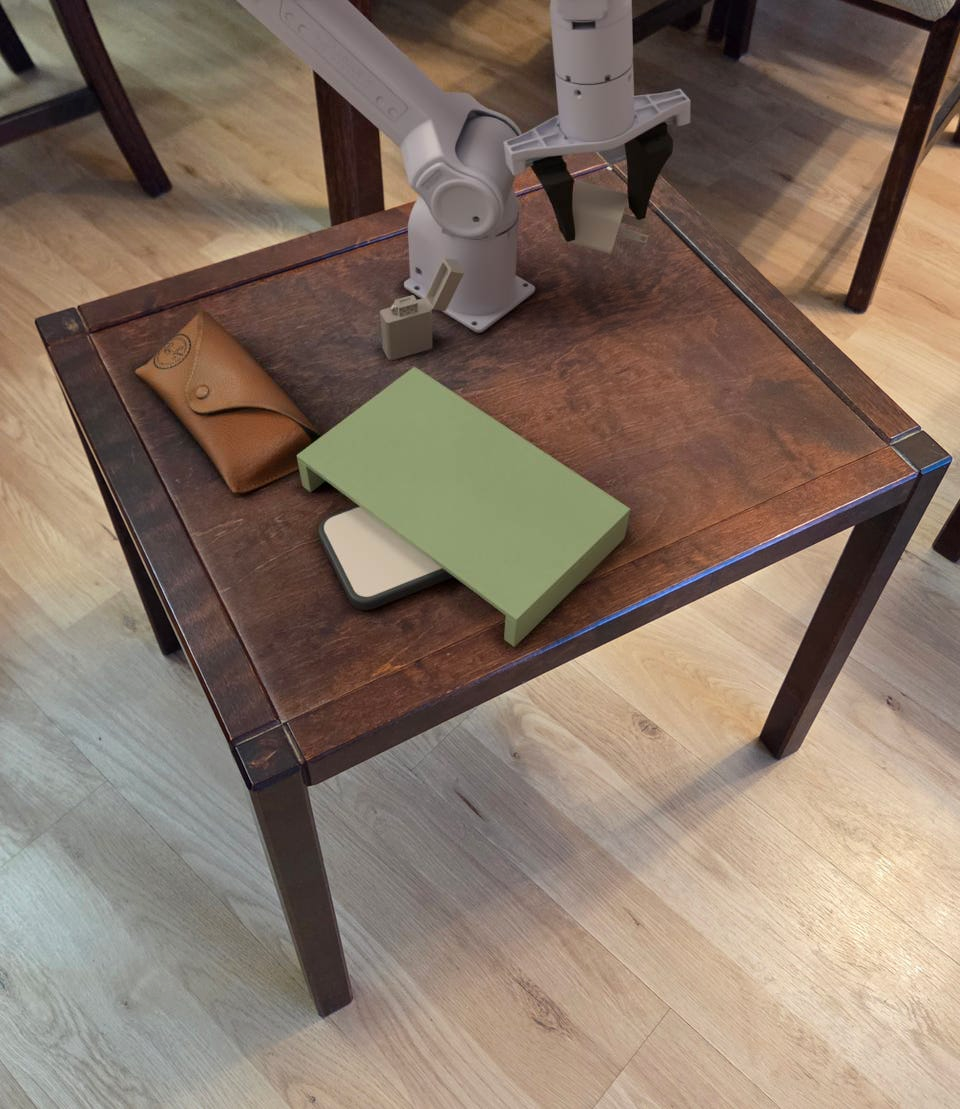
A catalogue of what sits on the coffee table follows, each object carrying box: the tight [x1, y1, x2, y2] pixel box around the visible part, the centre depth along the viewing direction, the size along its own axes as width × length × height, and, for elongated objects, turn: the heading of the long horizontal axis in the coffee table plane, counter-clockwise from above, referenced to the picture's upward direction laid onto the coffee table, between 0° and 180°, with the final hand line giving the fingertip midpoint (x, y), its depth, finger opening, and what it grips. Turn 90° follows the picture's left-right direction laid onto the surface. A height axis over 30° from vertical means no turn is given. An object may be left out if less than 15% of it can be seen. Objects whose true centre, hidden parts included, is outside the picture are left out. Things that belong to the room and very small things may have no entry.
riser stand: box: [297, 366, 631, 648], centre depth 80 cm, size 22×13×4 cm, turn 48°
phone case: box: [317, 504, 455, 611], centre depth 80 cm, size 9×2×16 cm
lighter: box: [379, 258, 464, 361], centre depth 89 cm, size 7×2×8 cm, turn 114°
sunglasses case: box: [134, 308, 323, 495], centre depth 86 cm, size 18×7×7 cm
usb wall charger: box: [560, 179, 653, 255], centre depth 88 cm, size 4×7×4 cm, turn 76°
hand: (602, 223), depth 88 cm, fingers closed on usb wall charger, 5 cm apart
